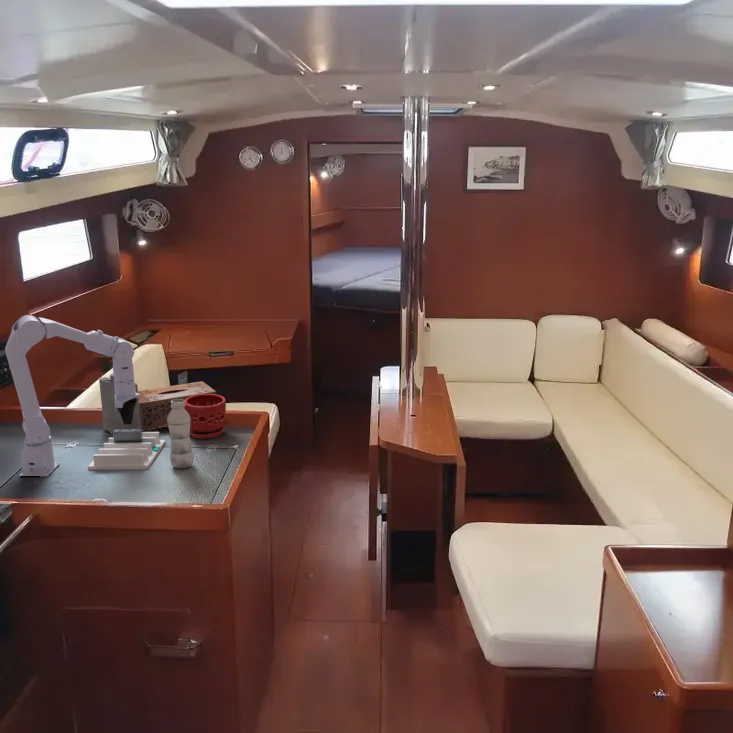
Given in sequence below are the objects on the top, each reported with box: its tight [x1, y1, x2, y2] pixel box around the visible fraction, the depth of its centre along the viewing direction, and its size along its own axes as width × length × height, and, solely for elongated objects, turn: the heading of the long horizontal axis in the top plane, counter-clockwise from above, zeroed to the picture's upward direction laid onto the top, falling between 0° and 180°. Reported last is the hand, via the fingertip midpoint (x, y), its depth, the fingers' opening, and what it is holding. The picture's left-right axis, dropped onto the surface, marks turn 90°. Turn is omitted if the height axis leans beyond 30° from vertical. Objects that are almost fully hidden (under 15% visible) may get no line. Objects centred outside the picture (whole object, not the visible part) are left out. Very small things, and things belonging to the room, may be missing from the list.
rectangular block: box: [112, 429, 143, 443], centre depth 224 cm, size 2×8×6 cm, turn 91°
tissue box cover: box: [138, 380, 217, 430], centre depth 255 cm, size 26×14×10 cm, turn 120°
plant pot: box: [184, 393, 227, 440], centre depth 239 cm, size 13×13×12 cm
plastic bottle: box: [167, 399, 195, 469], centre depth 212 cm, size 6×7×20 cm
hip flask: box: [98, 373, 141, 434], centre depth 239 cm, size 16×4×20 cm, turn 60°
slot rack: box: [87, 431, 166, 471], centre depth 222 cm, size 21×17×4 cm
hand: (128, 423), depth 223 cm, fingers closed
